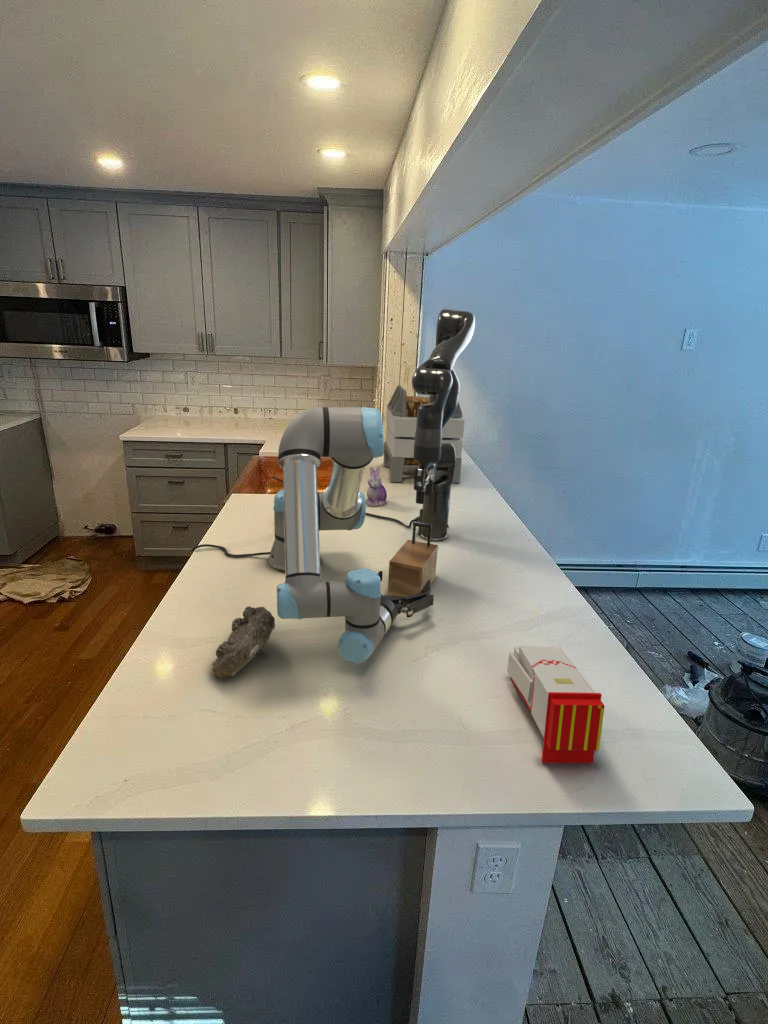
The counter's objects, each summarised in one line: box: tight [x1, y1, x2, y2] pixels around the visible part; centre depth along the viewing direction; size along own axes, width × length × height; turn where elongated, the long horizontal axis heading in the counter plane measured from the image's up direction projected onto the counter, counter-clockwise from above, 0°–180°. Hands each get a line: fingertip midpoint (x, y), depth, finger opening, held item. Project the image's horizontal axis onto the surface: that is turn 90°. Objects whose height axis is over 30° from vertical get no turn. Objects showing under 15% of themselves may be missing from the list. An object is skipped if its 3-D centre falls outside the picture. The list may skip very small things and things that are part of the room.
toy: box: [506, 645, 605, 764], centre depth 112 cm, size 12×13×30 cm
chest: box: [387, 550, 438, 597], centre depth 162 cm, size 16×9×9 cm, turn 160°
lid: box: [388, 521, 439, 571], centre depth 159 cm, size 17×9×8 cm, turn 160°
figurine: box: [365, 466, 388, 507], centre depth 227 cm, size 9×10×15 cm
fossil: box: [211, 606, 276, 679], centre depth 126 cm, size 22×10×15 cm
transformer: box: [383, 384, 465, 484], centre depth 268 cm, size 34×33×41 cm
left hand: (404, 580), depth 153 cm, fingers open, 13 cm apart
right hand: (424, 499), depth 161 cm, fingers open, 8 cm apart
